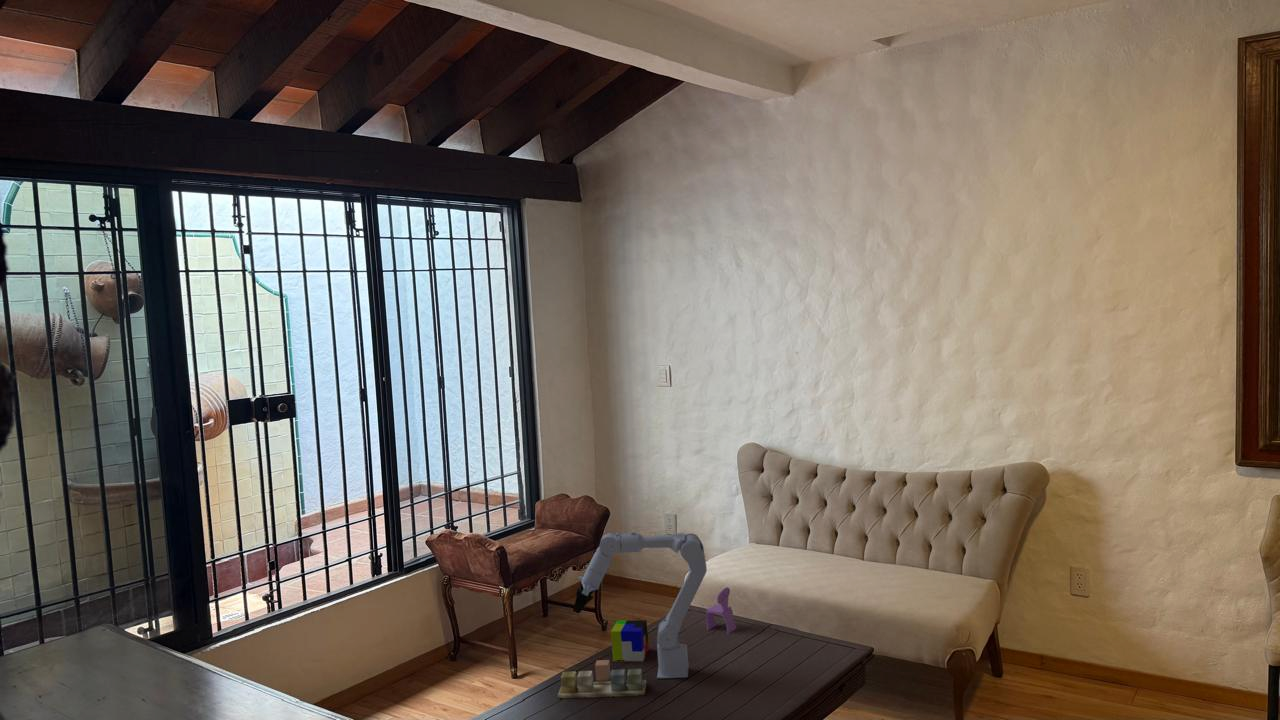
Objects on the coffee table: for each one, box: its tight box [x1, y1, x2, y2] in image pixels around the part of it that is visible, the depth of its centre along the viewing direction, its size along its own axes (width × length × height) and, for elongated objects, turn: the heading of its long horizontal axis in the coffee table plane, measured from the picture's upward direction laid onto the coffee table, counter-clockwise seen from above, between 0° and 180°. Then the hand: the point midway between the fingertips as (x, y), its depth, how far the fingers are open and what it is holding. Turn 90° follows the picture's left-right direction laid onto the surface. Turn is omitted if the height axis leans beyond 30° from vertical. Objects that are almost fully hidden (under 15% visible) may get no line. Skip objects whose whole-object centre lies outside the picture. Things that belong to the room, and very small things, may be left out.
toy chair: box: [705, 586, 738, 635], centre depth 310 cm, size 8×9×15 cm
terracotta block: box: [594, 659, 611, 682], centre depth 276 cm, size 4×4×5 cm
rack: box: [557, 668, 647, 699], centre depth 267 cm, size 26×8×6 cm, turn 85°
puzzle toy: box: [610, 619, 650, 662], centre depth 293 cm, size 10×10×10 cm
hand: (577, 607), depth 277 cm, fingers open, 7 cm apart
